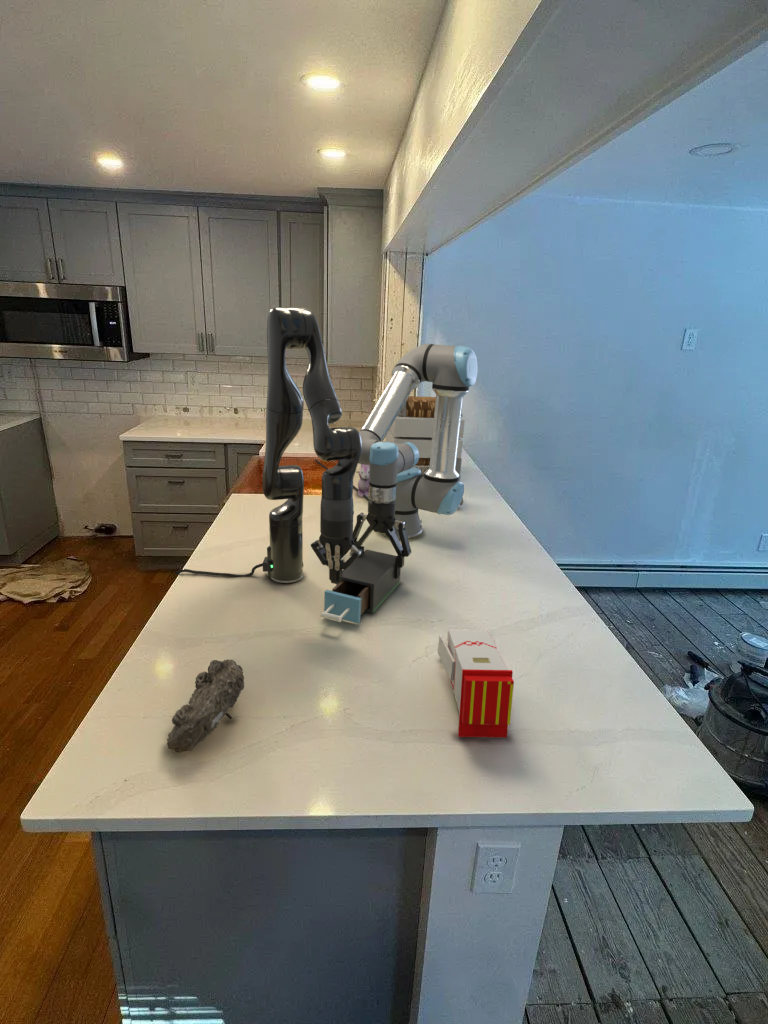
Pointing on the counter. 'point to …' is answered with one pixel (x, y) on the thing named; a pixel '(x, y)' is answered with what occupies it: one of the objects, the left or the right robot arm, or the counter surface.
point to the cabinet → (373, 576)
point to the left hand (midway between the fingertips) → (335, 582)
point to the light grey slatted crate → (420, 428)
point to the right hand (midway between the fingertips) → (378, 572)
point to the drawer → (346, 601)
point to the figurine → (363, 481)
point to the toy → (478, 682)
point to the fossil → (206, 705)
